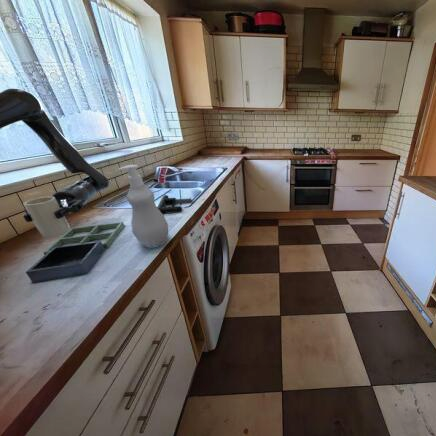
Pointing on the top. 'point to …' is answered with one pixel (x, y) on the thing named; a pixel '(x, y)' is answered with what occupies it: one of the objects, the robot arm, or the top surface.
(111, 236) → the green divided tray
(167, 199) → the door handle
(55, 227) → the cup
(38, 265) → the black tray
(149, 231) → the soap bottle
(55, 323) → the top surface
